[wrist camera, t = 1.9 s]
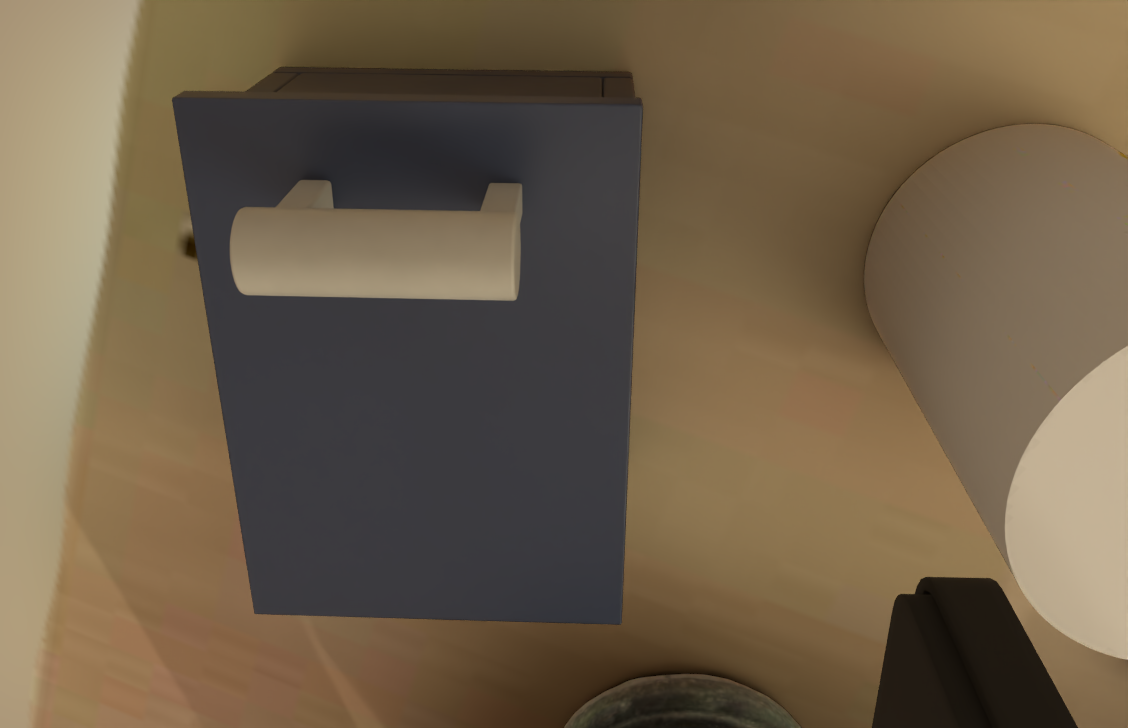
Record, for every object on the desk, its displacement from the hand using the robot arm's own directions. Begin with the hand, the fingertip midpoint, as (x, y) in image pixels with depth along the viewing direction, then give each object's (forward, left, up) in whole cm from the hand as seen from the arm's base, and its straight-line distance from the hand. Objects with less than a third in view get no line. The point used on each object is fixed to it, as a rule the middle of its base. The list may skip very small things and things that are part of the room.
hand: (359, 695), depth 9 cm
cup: (+4, +14, -22) cm, 26 cm away
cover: (+5, -2, -15) cm, 16 cm away
